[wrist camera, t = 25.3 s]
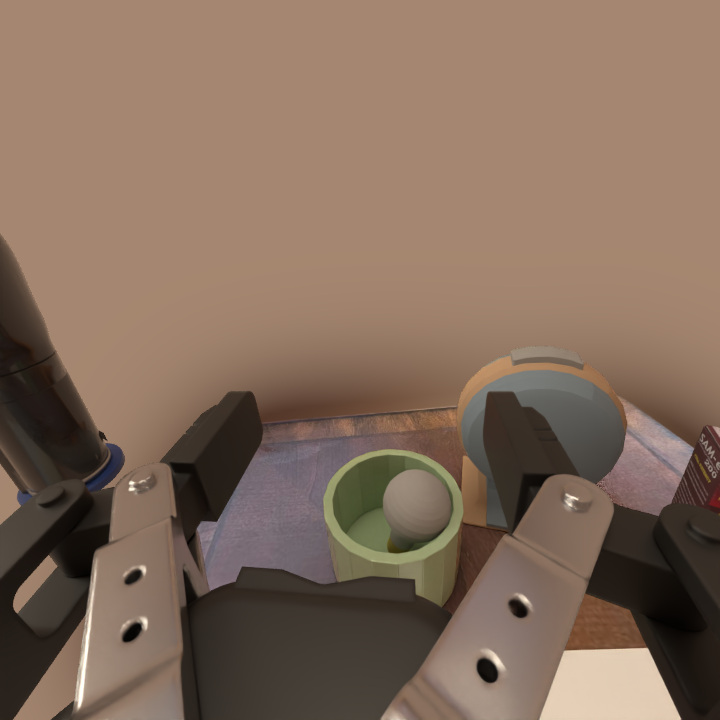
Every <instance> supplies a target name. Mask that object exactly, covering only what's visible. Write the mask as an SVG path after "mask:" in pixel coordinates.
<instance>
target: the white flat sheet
mask: <svg viewBox="0 0 720 720" xmlns="http://www.w3.org/2000/svg"><path fill="white" fill-rule="evenodd" d="M539 720H681V718H680V716H679V714H678V712H677V709H676V707H675V705H674V703H673V701H672V699H671V697H670V694H669V692H668V690H667V688H666V686H665V684H664V682H663V679H662V677H661V675H660V673H659V671H658V669H657V667H656V664H655V662H654V660H653V658H652V656H651V654H650V652H649V650H648V648H634V649H602V650H570V651H564V653H563V655H562V658H561V661H560V664H559V667H558V669H557V672H556V675H555V678H554V680H553V683H552V686H551V689H550V691H549V694H548V697H547V700H546V703H545V705H544V708H543V711H542V714H541V716H540V719H539Z"/></svg>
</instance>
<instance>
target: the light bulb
mask: <svg viewBox="0 0 720 720" xmlns="http://www.w3.org/2000/svg"><path fill="white" fill-rule="evenodd" d="M383 511H384V516H385V518H386V521H387V523H388V525H389V526H390V528H391V532H390V537H389V539H388V542H387V549H388V551H389V553H394V554H399V553H404V552H409V551H410V548H412V547H413V545H414V544H415V543H425V542H429V541H432V540H433V539H435V538H436V537H438V536H439V535H440V534H441V533H442V532H443V531H444V530H445V528H446V526H447V524H448V522H449V520H450V516H451V501H450V497H449V494H448V491H447V489H446V487H445V486H444V485H443V483H442V482H441V481H440V480H439V479H438V478H437V477H436V476H434V475H433V474H431V473H429V472H427V471H424V470H417V469H412V470H407V471H404V472H402V473H400V474H398V475H397V476H396V477H394V478H393V479H392V480H391V481H390V483H389V484H388V486H387V488H386V491H385V494H384V498H383Z"/></svg>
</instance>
